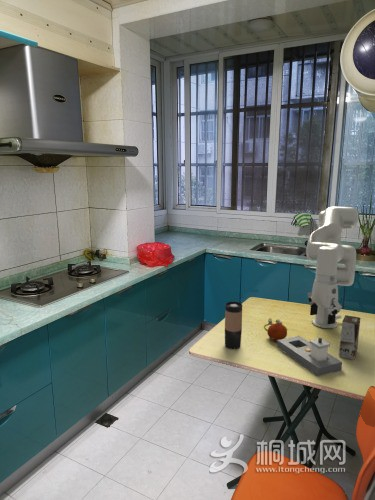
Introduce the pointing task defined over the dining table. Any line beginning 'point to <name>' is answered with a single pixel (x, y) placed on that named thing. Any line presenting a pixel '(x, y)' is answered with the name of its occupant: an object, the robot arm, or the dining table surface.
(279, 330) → the fruit
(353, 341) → the coffee box
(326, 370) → the socket block
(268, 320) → the extension cord
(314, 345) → the plug
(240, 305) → the travel mug
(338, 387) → the dining table surface
